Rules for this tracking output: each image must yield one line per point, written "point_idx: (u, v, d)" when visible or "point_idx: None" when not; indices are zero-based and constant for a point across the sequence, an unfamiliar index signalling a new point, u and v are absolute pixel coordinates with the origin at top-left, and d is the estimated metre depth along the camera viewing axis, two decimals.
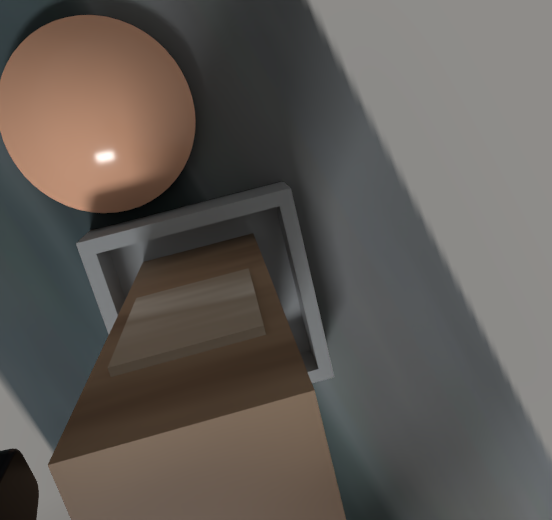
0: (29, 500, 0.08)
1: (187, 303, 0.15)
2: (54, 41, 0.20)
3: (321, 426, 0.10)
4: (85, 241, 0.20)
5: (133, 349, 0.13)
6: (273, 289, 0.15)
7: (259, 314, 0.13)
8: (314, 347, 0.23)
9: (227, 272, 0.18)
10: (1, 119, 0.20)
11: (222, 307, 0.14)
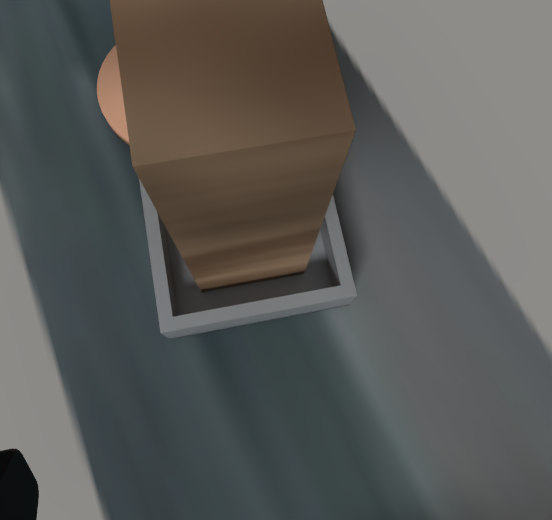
0: (29, 500, 0.08)
1: None
2: None
3: None
4: None
5: None
6: None
7: None
8: (336, 262, 0.23)
9: None
10: (100, 80, 0.27)
11: None
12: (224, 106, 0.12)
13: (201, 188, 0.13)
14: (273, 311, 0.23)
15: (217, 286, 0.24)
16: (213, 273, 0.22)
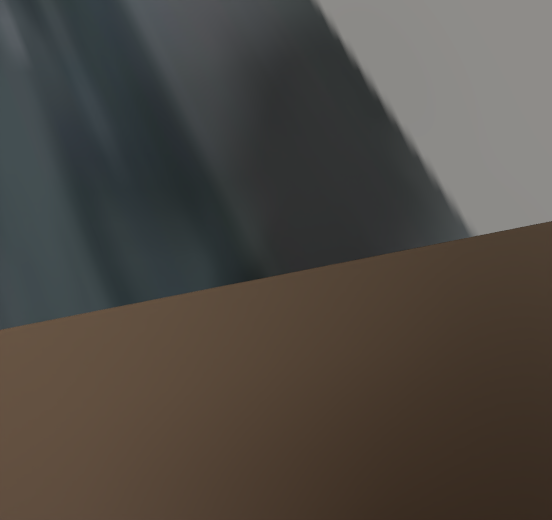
0: None
1: None
2: None
3: None
4: None
5: None
6: None
7: None
8: None
9: None
10: None
11: None
12: None
13: None
14: None
15: None
16: None
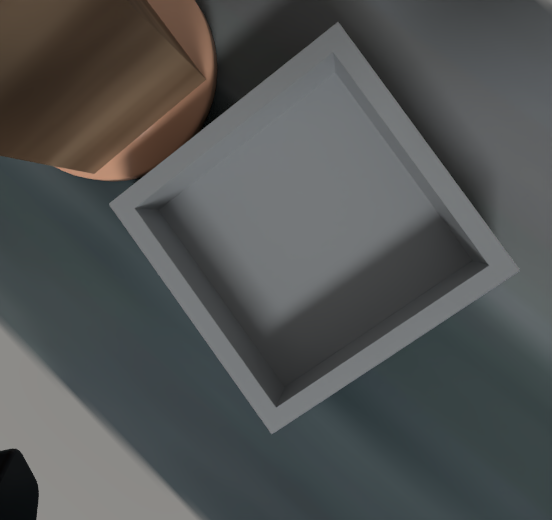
0: (29, 500, 0.08)
1: None
2: None
3: None
4: (118, 197, 0.16)
5: None
6: None
7: None
8: (467, 233, 0.15)
9: None
10: None
11: None
12: None
13: None
14: (406, 344, 0.15)
15: (102, 156, 0.17)
16: (58, 143, 0.14)
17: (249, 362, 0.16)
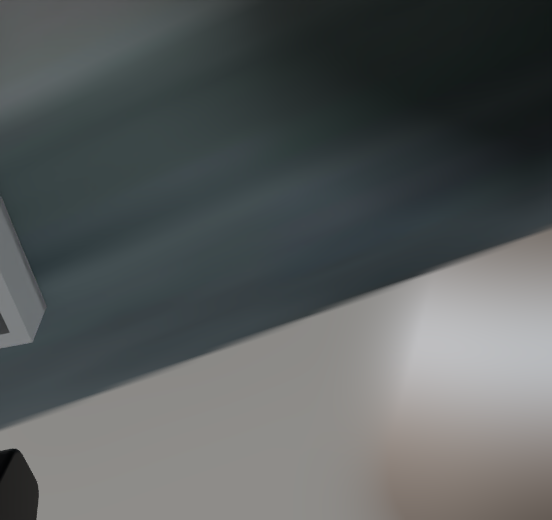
0: (29, 500, 0.08)
1: None
2: None
3: None
4: None
5: None
6: None
7: None
8: None
9: None
10: None
11: None
12: None
13: None
14: None
15: None
16: None
17: None
